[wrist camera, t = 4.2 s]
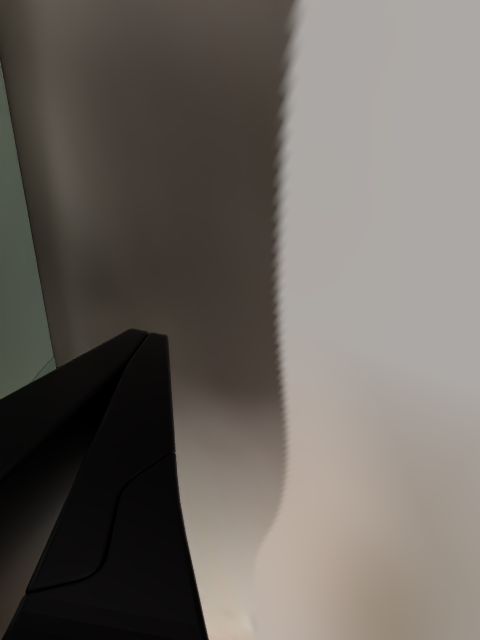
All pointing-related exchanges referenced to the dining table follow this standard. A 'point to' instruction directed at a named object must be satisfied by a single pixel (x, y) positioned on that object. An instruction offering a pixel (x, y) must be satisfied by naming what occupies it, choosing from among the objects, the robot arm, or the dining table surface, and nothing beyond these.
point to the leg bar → (18, 275)
